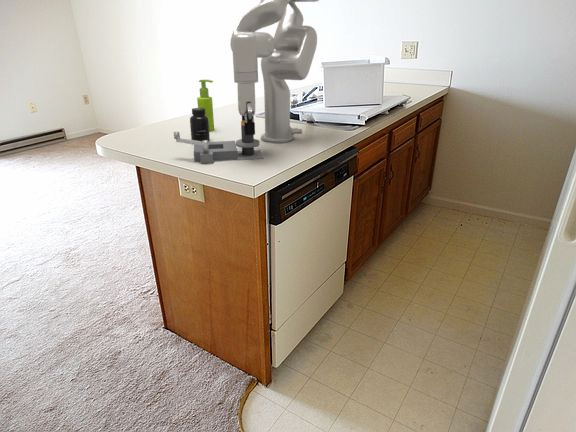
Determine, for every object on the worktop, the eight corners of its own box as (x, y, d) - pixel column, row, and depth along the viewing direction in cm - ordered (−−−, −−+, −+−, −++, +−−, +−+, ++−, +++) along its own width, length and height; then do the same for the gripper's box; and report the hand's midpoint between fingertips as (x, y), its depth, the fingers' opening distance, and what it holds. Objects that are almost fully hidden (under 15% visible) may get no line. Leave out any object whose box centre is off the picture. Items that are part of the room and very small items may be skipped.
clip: (177, 146, 138) (175, 131, 135) (210, 151, 133) (208, 135, 131) (174, 148, 136) (172, 132, 134) (207, 153, 132) (205, 137, 129)
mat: (260, 150, 146) (260, 149, 145) (263, 158, 138) (263, 157, 137) (234, 152, 144) (234, 150, 144) (236, 160, 136) (236, 158, 136)
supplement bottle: (201, 144, 152) (198, 111, 147) (187, 141, 156) (184, 109, 151) (213, 140, 158) (211, 108, 153) (200, 137, 161) (197, 106, 156)
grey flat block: (235, 149, 147) (234, 140, 146) (238, 161, 134) (238, 152, 133) (195, 151, 145) (194, 142, 144) (194, 164, 132) (193, 155, 131)
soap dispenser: (213, 132, 168) (209, 81, 160) (197, 131, 169) (193, 80, 161) (218, 129, 173) (215, 79, 165) (203, 128, 175) (199, 78, 166)
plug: (258, 150, 145) (257, 118, 140) (261, 156, 138) (260, 123, 133) (235, 151, 144) (233, 119, 139) (237, 158, 136) (235, 124, 132)
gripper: (232, 73, 137) (235, 124, 145) (236, 81, 122) (239, 138, 129) (254, 72, 138) (256, 123, 146) (261, 80, 123) (263, 137, 131)
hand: (248, 130), depth 138 cm, fingers open, 9 cm apart
